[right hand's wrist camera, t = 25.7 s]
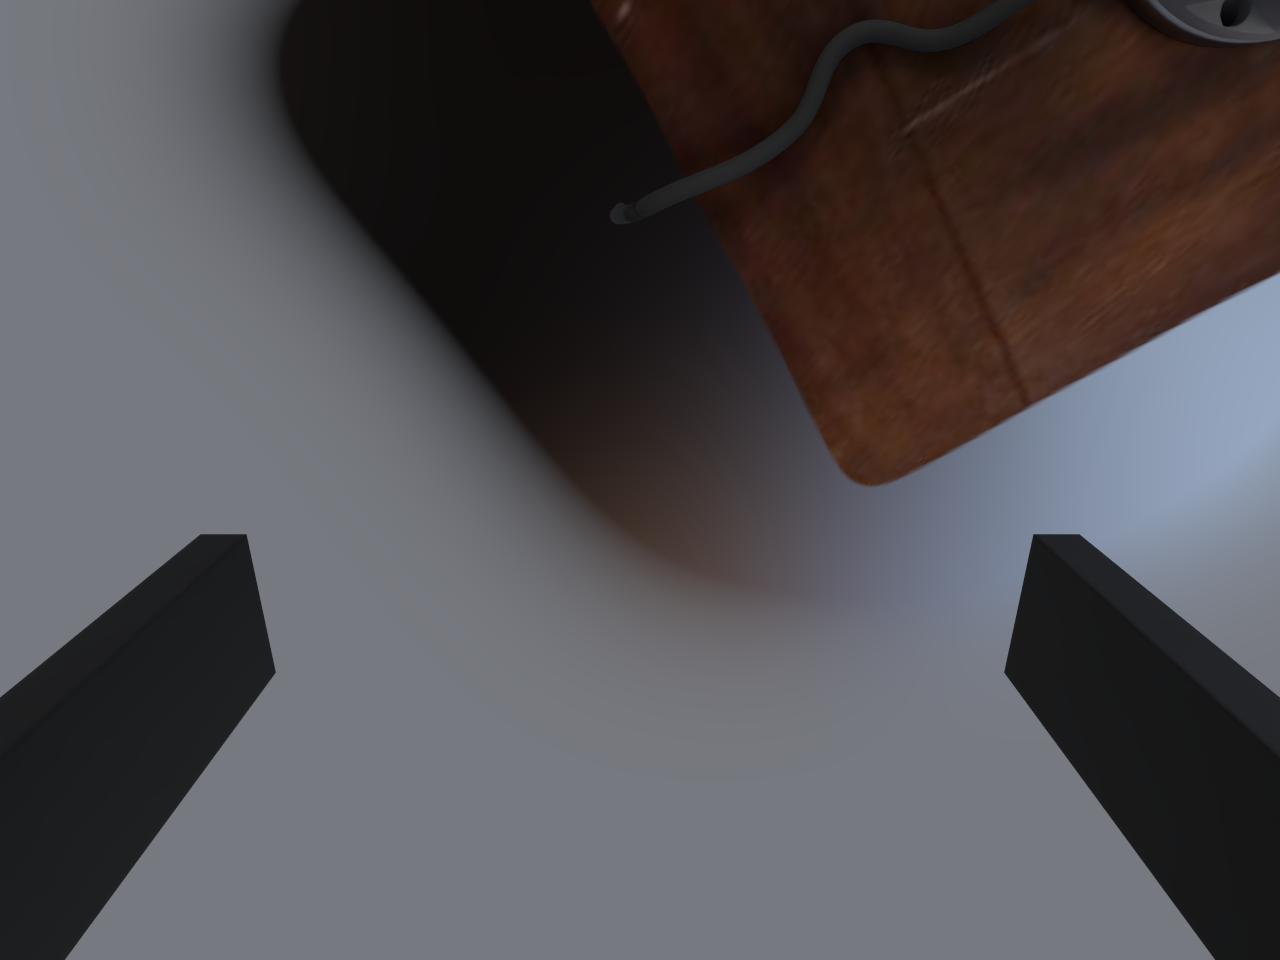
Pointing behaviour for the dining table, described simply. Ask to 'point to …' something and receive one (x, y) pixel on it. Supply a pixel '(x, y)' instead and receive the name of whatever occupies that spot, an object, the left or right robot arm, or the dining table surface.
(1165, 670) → the right robot arm
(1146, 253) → the dining table surface
